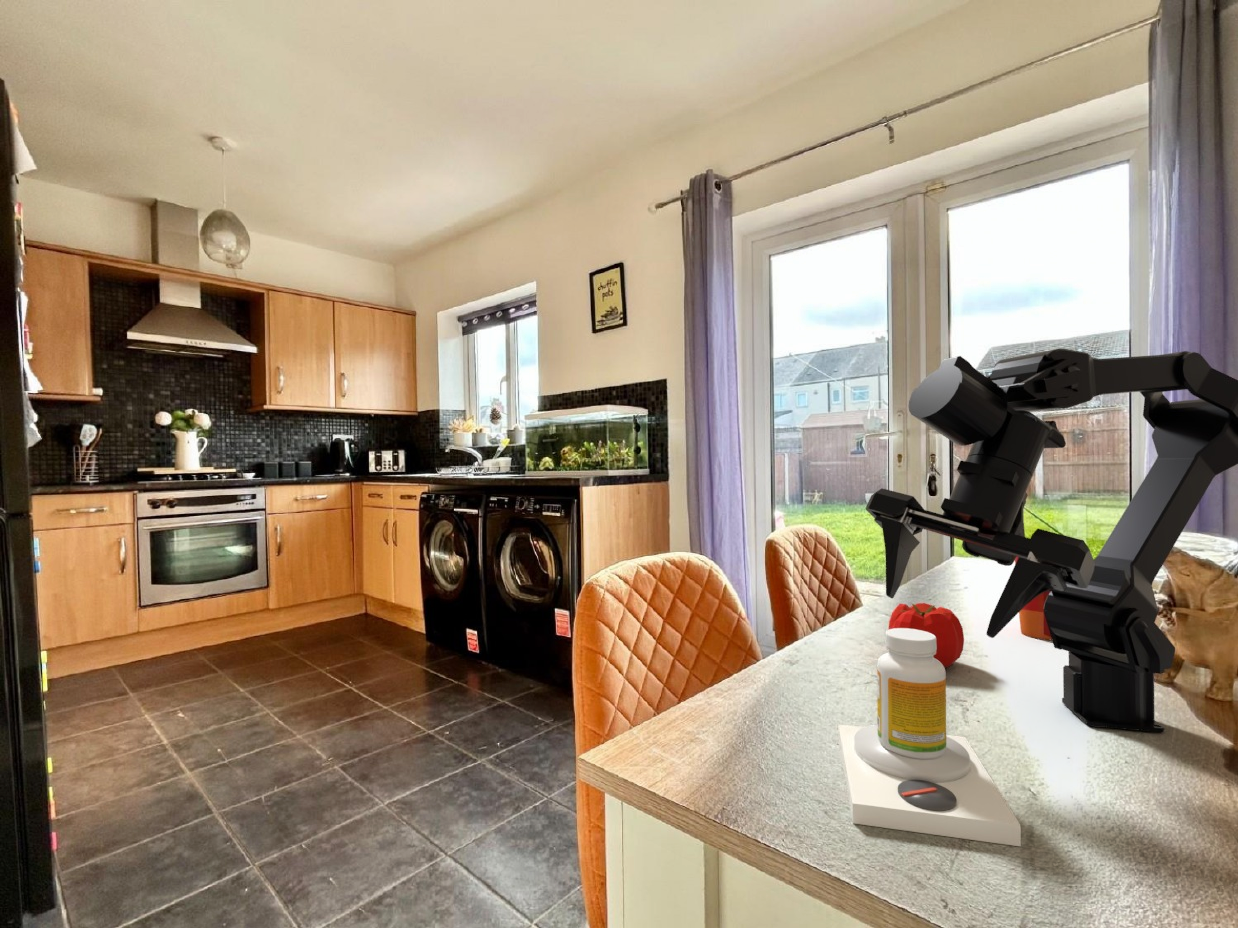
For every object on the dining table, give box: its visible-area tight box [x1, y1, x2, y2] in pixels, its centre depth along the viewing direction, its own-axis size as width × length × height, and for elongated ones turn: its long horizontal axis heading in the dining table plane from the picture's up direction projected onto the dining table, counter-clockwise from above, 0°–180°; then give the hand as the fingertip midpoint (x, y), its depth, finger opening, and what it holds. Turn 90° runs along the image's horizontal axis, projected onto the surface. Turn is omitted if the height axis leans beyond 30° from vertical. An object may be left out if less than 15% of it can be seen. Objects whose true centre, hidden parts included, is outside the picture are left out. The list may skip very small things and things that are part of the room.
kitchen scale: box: [837, 723, 1022, 847], centre depth 51 cm, size 11×14×2 cm
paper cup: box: [1014, 557, 1052, 641], centre depth 93 cm, size 8×8×14 cm
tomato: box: [887, 602, 965, 668], centre depth 81 cm, size 9×9×8 cm
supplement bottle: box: [876, 628, 947, 759], centre depth 53 cm, size 5×5×10 cm
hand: (936, 615), depth 57 cm, fingers open, 9 cm apart
